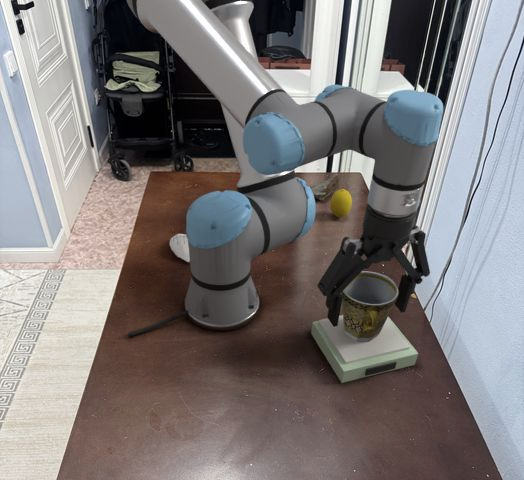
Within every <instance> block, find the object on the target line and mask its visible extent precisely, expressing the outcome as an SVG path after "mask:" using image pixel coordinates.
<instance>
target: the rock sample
mask: <svg viewBox="0 0 524 480" xmlns="http://www.w3.org/2000/svg"><path fill="white" fill-rule="evenodd" d="M340 182H341V178H340V176H339V175H338V173H334V175H333V176H332V177H330V178H328V179H327V180H325V181H321V182H319V183H317V184H314V185H311V186H309V187H310V188H311V190H312V193H313V195H314V199H315V200H319V201H323V200H324V199H326V198H327V197H328V196H330V195H331V194H332V193H333V192H336V191H337V190H338V189H339V187H340Z"/></svg>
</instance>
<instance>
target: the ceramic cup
mask: <svg viewBox="0 0 524 480" xmlns="http://www.w3.org/2000/svg"><path fill="white" fill-rule="evenodd" d="M398 288H399V286H398V285H397V283H396V282H395V281H394V280H392V278H391V277H389V276H387V275H384V274H382V273H379V272H375V271H370V270H369V271H367V270H365V271H364V270H363V271H362V272H361V273H360V274H359V275H358V276H357V277H356V278H355V279H354V280H353V281H352V282H351V283H350V284H349V285H348V286H347V287H346V288H345V289H344V290H343V291H342V292H341V293H340V294H341V295H342V296H343V299H342V304H341V306H342V315H343V324H344V331H345V334H346V335H347V336H349V337H350V338H352V339H353V340H355V341H358V342H370V341H371V340H373V339H374V338H375V337H377V336H378V335H379V334H380V332H381V330H382V328H383V326H384V324H385V322H386V320H387V318H388V317H389V315H390V314H391V312H392V310H393V308H394V307H395V302H396V300H397V297H398V294H399V289H398Z"/></svg>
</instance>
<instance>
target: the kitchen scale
mask: <svg viewBox="0 0 524 480" xmlns="http://www.w3.org/2000/svg"><path fill="white" fill-rule="evenodd" d="M310 334H311V336H312V337H313V339H314V340H315V343H316V344H317V346H318V347H319V349H320V351H321V352H322V353H323V356H324V357H325V359H326V360H327V362H328V363H329V365H330V366H331V368H332V370H333V372H334V373H335V375H336V376H337V378H338V380H339V381H340V383H341V384H344V383H348V382H351V381H355V380H360V379H364V378H367V377H371V376H376V375H381V374H384V373H388V372H391V371H396V370H399V369H400V370H401V369H404V368H408V367H411V366H415V365H416V362H417V359H418V356H419V352H418V351H417V350H416V349H415V347H414V346H413V344H411V342H410V341H409V340H408V338H407V337H406V336H405V335H404V334H403V333H402V331H401V330H400V329H399V328H398V327H397V325H396V324H395V323H394V321H393V320H392V319H391V318H390V317H389V316H388V318H387V320H386V322H385V324H384V326H383V328H382V330H381V332H380V334H379V335H378V336H377V337H375V338H374V339H373V340H371V341H370V342H358V341H355V340H353V339H352V338H350V337H349V336H347V335H346V334H345V331H344V324H343V314H342V315H341V314H340V315H339V320H338V326H335V327H333V325H332V324H331V322H330V321H329V319H328V318H327V317H326V318H322V319H318V320H315V321H312V323H311V330H310Z"/></svg>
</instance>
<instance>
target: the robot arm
mask: <svg viewBox="0 0 524 480" xmlns="http://www.w3.org/2000/svg"><path fill="white" fill-rule="evenodd" d="M126 3H127V5H128V7H129V9H130V10H131V12H132V13H133V15H134V16H135V18H136V19H137V20H138V21H139V22H140V23H141V24H142V25H143V26H144V28H145V29H146V30H148V31H150V32H152V33H153V34H160V36H161V37H162V38H163V39H164V40H165V42H167V43H168V45H169V46H170V47H171V48H172V49H173V51H174V52H175V54H177V55H178V56H179V57H180V58H181V60H182V61H183V62H184V63H185V64H186V65H187V66H188V67H189V69H190V70H191V71H192V72H193V73H194V74H195V75H196V77H197V78H198V79H199V80H200V82H202V83H203V85H204V86H205V87H206V88H207V89H208V90H209V91H210V93H211V94H212V95H213V96H214V97H215V98H216V99H217V101H218V102H219V103H220V106H221V109H222V113H223V116H224V119H225V123H226V127H227V130H228V133H229V137H230V141H231V145H232V148H233V151H234V154H235V158H236V162H237V165H238V169H239V171H240V172H239V174H240V173H241V177H240V176H239V178H238V181H237V183H236V190H237V191H236V190H227V189H226V190H224V191H220V190H216V191H211V192H208V193H205V194H202V195H201V196H199V197H198V198H197V199H195V200H194V201H193V202H192V203H191V204H190V206H189V208H188V210H187V213H186V221H185V222H186V227H185V234H186V236H187V239H188V248H189V257H190V262H189V266H190V274H191V275H190V276H191V278H190V282H189V285H188V288H187V292H186V295H185V299H184V307H185V308H184V309H185V310H184V311H182V312H179V313H177V314H173V315H172V316H169V317H167V318H164V319H162V320H160V321H157V322H156V323H153V324H150V325H148V326H145V327H142V328H139V329H136V330H133V331H129V332H127V334H128V336H129V337H133V336H137V335H140V334H143V333H146V332H149V331H152V330H154V329H156V328H159V327H161V326H164V325H166V324H169V323H171V322H173V321H175V320H177V319H181V318H182V317H185V316H186V317H187V318H188V320H189V321H190V322H191V323H193V325H196V326H197V327H199V328H202V329H204V330H207V331H213V332H230V331H234V330H235V331H236V330H239V329H241V328H243V327H246V326H248V325H249V324H250V323H252V322H253V321H254V320H255V319H256V318H257V316H258V314H259V311H260V296H259V295H261V289H260V285H259V284H257V289H258V292H257V289H256V286H255V283H254V281H253V279H252V276H251V267H252V266H251V265H252V264H251V262H252V260H253V259H255V258H257V257H260V256H262V255H265V254H267V253H269V252H271V251H273V250H275V249H279V248H280V247H282V246H285V245H287V244H292V243H294V242H295V241H296V240H298V239H300V238H302V237H303V236H305V235H307V234H308V232H310V230H311V228H312V226H313V224H314V222H315V220H316V219H315V218H316V213H317V212H316V210H317V208H316V198H315V197H314V195H313V193H312V190H311V188H310V187H311V186H309V185H308V184H307V182H306V181H305V180H304V179H302V178H300V177H297V175H296V172H295V170H296V169H297V168H299V167H302V166H305V165H308V164H311V163H313V162H316V161H319V160H322V159H326V158H329V157H332V156H334V155H337V154H341V153H343V152H346V151H353V152H355V153H357V154H360V155H362V156H364V157H367V158H369V159H373V160H374V164H373V168H372V176H371V180H370V185H369V190H368V193H367V198H366V199H367V204H366V206H365V211H364V216H363V221H362V234H361V235H360V237H359V238H357V239H351V238H350V237H349V236H345V237H343V238H342V240H341V244H340V248H339V250H338V252H336V255H335V256H334V258H332V259H333V260H332V261H331V263H329V266H328V267H327V268H326V270H325V272H324V274H323V275H322V277H321V278H320V279H319V281H318V283H317V286H316V287H317V289H318V290H319V291H320V293H321V294H322V295H323V297H325V306H326V308H327V309H328V310H327V317H326V319H327V318H328V319H329V321H330V322H331V324H332V325H333V327H335V326H338V320H339V316H341V310H342V299H343V296H342V295H341V292H342V291H343V290H344V289H345V288H346V287H347V286H348V285H349V284H350V283H351V282H352V281H353V280H354V279H355V278H356V277H357V276H358V275H359V274H360V273H361V272H362V271H364V270H366V269H369V268H370V267H371V266H372V264H379V263H382V262H390V261H392V259H394V258H395V259H396V260H397V262H398V263H399V264H400V266H401V267H402V269H403V270H404V271H405V273H406V274H405V273H404V274H401V278H400V281H399V285H398V289H399V294H398V297H397V300H396V302H395V304H394V306H395V307H396V308H397V309H398V310H399V312H400V313H406V311H407V307H408V305H409V304H408V303H409V300H410V297H411V295H413V293H414V292H415V290H416V286H417V285H419V284H421V283H423V278H422V277H425V278H427V277H429V276H430V275H431V270H430V266H429V260H428V256H427V252H426V247H425V241H426V232H425V231H423V230H422V229H421V228H420V226H418V225H416V224H415V225H414V223H415V221H416V216H417V210H418V208H419V205H420V202H421V198H422V194H423V191H424V187H425V181H426V178H427V175H428V171H429V167H430V164H431V160H432V157H433V154H434V151H435V146H436V143H437V141H438V140H439V137H440V136H439V135H440V128H441V124H442V123H441V122H442V118H443V114H444V103H443V102H442V100H441V99H440V98H439V97H438V96H436V95H435V94H433V93H430V92H426V91H418V90H416V89H401V90H397V91H394V92H392V93H391V94H390V95H389V96H388V97H387V99H386V100H383V99H381V98H378V97H375V96H373V95H371V94H368V93H365V92H362V91H359V90H358V89H357V88H353V87H352V86H344V85H341V84H331V85H327V86H326V87H324V88H323V90H322V91H321V92H320V93H318V94H317V96H316V97H315V99H314V100H313V101H310V102H306V103H302V104H299V103H297V102H296V101H295V100H294V99H293V97H292V96H291V95H290V94H288V92H286V90H285V89H284V88H283V87H282V86H281V85H280V84H279V82H278V81H276V80H275V78H274V77H273V76H272V75H271V74H270V73H269V72H268V70H266V68H264V66H263V65H262V64H261V63H260V61H259V57H258V54H257V50H256V46H255V42H254V37H253V34H252V30H251V26H250V23H249V19H250V17H251V16H252V12H253V10H254V8H255V7H254V1H253V0H126ZM408 243H410V247H411V251H412V256H413V260H414V263H415V267H414V266H413V264H412V263H411V262H410V260H409V258H408V257H407V255H406V254H405V252H404V251H403V248H404V247H405V246H406V245H407V244H408ZM363 256H365V258H363Z"/></svg>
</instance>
